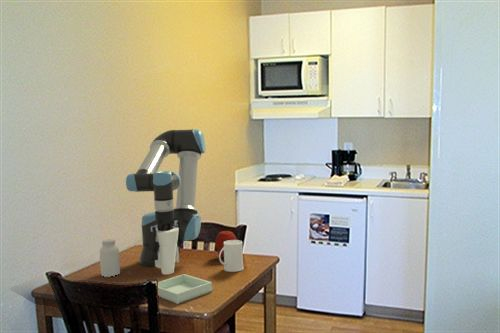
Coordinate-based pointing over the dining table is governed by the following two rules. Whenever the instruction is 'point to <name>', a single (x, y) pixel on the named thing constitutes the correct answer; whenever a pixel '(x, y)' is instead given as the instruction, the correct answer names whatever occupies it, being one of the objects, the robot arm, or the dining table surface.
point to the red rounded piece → (223, 240)
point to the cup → (167, 248)
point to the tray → (183, 288)
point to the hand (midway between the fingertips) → (167, 264)
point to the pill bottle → (109, 258)
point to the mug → (232, 256)
